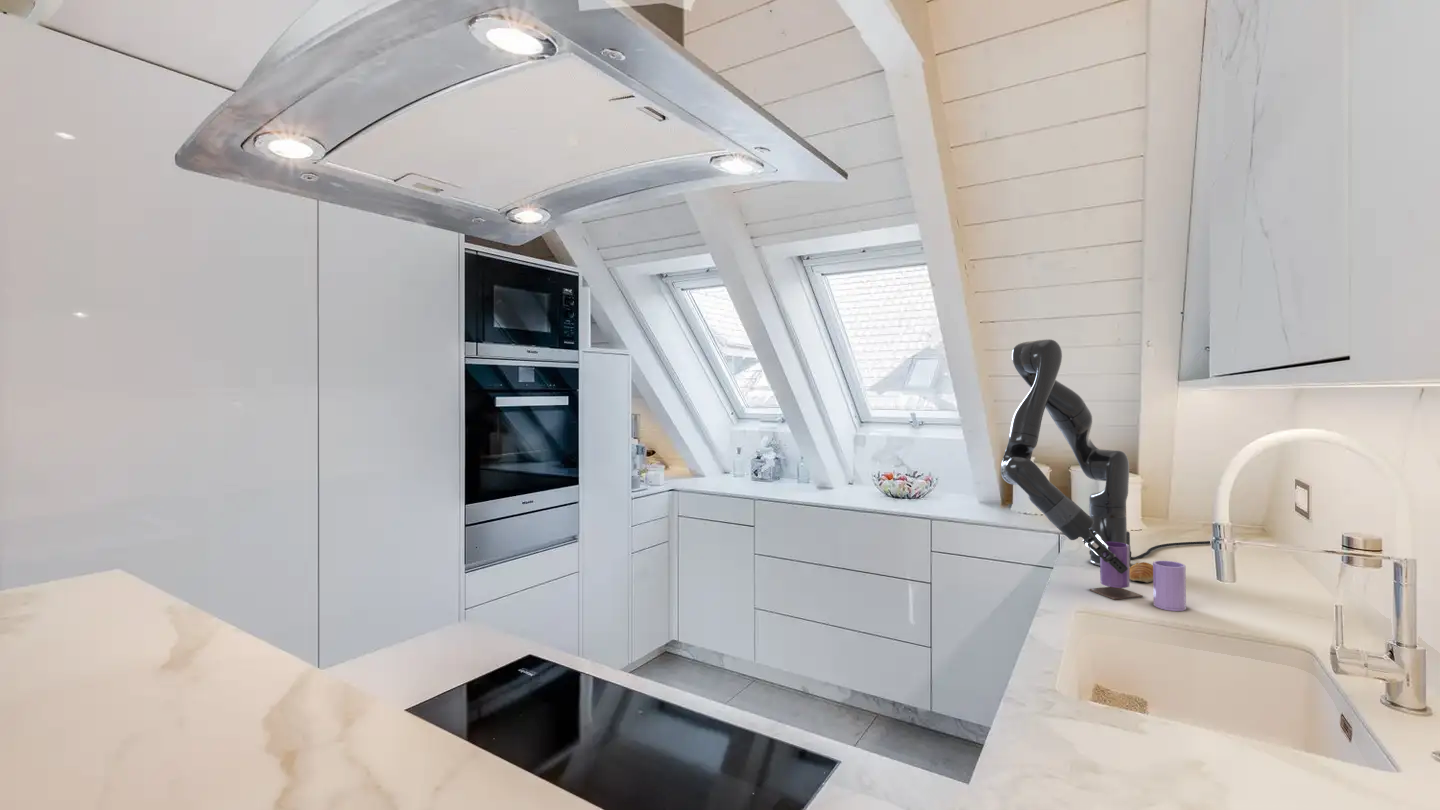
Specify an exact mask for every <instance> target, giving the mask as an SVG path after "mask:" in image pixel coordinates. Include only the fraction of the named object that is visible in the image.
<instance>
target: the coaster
mask: <svg viewBox="0 0 1440 810" xmlns="http://www.w3.org/2000/svg"><path fill="white" fill-rule="evenodd" d="M1089 591H1090V592H1093V593H1096V594H1097V595H1101V596H1103V597H1105V598H1108V599H1112V600H1113V601H1116V600H1126V599H1137V598H1143V594H1141V593H1137V592H1134V591H1131V590H1128V589H1126V588H1115V587H1109V586H1103V587H1095V588H1094V587H1093V588H1089Z"/></svg>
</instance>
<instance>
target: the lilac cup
mask: <svg viewBox="0 0 1440 810" xmlns="http://www.w3.org/2000/svg"><path fill="white" fill-rule="evenodd" d="M1152 565H1153V582H1152V583H1153V584H1152V585H1153V586H1152V587H1153V593H1152V594H1153V595H1152V596H1153V606H1154V607H1155V608H1157V609H1161V610H1165V611H1171V612H1184V611H1186V610H1187V579H1186V578H1187V575H1186V574H1187V573H1186V572H1187V571H1186V568H1187V567H1186V564H1184V563H1182V562H1177V561H1173V560H1154V561H1153V562H1152Z"/></svg>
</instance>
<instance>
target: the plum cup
mask: <svg viewBox="0 0 1440 810" xmlns="http://www.w3.org/2000/svg"><path fill="white" fill-rule="evenodd" d="M1105 543H1106V544H1107V545H1108V546H1109V550H1110V551H1111V552H1112V553H1114V554H1115V556H1116V557H1117V558H1118V559H1119V560H1120V561H1121V562H1122V563H1123V564H1125V565H1126V566H1127V568H1128V569H1127V570H1126V571H1125V572H1124V573H1122V574H1121V573H1119V572H1118V571H1117V570H1116V569H1115V568H1114V567H1113V566H1112V565H1111V564H1109V563H1107V562H1105V561H1104V560H1103V559H1102V558H1101V557H1100V566H1099V569H1100V570H1099V581H1100V584H1101V585H1103V586H1104V587H1115V588H1123V589H1126V588H1129V587H1130V585H1131V583H1130V581H1131V580H1130V567H1131V565H1129V545H1128V544H1125V543H1120V542H1109V541H1106V542H1105ZM1103 546H1104V545H1103ZM1108 554H1109V553H1108V552H1107V551H1106V552H1105V553H1103V555H1104V556H1107V555H1108Z"/></svg>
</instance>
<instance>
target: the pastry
mask: <svg viewBox="0 0 1440 810" xmlns="http://www.w3.org/2000/svg"><path fill="white" fill-rule="evenodd" d="M1130 581H1132V582H1133V581H1134V582H1135V581H1137V582H1144V583H1148V584H1149V583H1153V564H1151V563H1149V562H1145V561H1143V562H1135V564H1133V565H1130Z"/></svg>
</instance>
